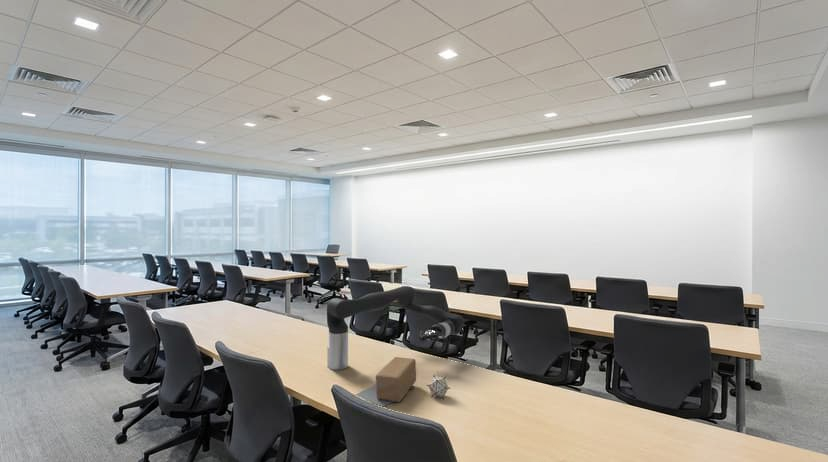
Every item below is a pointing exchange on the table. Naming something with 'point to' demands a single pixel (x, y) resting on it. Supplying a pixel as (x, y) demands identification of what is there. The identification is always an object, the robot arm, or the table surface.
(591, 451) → the table surface
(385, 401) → the mat
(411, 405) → the table surface
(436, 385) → the grey spiky star polyhedron
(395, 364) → the wooden block
